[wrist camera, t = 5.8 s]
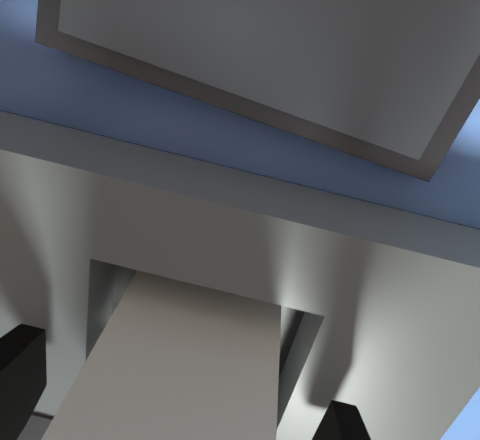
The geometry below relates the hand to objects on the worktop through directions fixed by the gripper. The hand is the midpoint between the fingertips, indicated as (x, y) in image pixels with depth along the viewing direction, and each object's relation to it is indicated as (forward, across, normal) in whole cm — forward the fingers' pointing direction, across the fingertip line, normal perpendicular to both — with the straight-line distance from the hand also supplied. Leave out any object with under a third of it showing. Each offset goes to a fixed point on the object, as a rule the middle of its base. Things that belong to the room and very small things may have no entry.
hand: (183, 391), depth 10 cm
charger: (+2, 0, 0) cm, 3 cm away
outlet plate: (+3, +1, +1) cm, 3 cm away
